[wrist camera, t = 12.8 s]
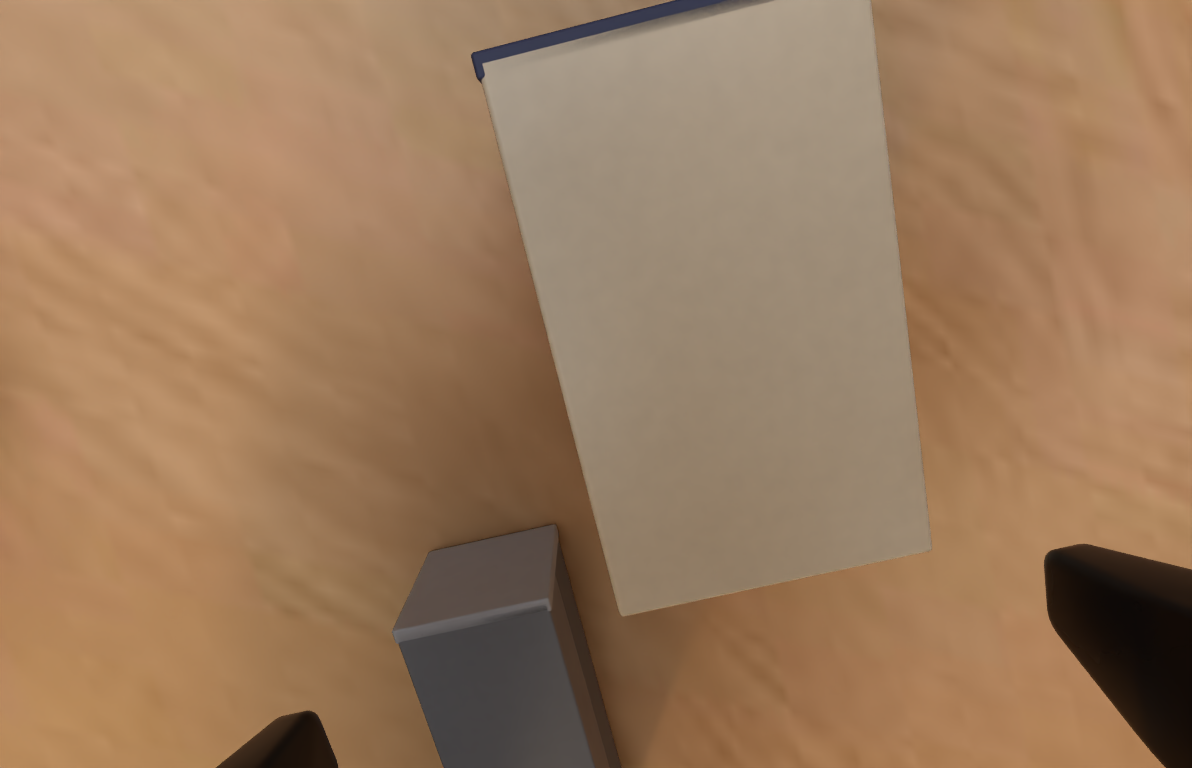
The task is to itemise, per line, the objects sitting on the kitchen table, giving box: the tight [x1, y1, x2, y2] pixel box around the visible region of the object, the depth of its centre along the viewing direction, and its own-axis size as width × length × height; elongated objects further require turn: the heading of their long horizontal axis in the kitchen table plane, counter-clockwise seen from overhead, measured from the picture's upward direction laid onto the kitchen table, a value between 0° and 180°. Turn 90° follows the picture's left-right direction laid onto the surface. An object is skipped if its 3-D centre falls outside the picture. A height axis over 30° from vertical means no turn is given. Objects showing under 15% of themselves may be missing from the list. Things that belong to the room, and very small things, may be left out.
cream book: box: [471, 0, 932, 616], centre depth 12 cm, size 6×10×2 cm, turn 13°
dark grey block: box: [392, 524, 621, 768], centre depth 20 cm, size 4×11×4 cm, turn 13°
